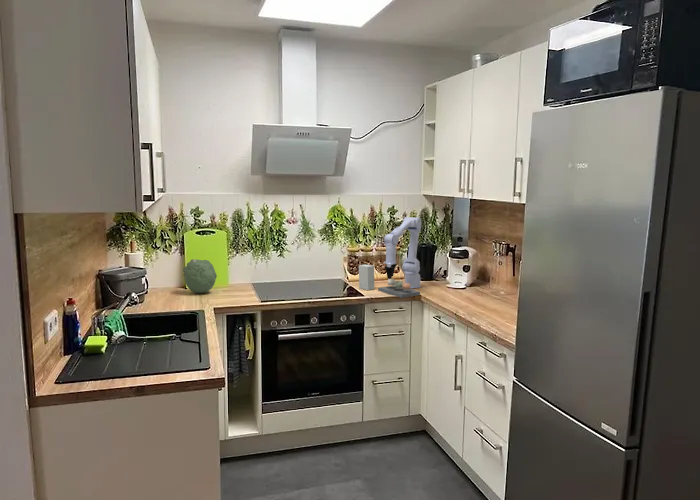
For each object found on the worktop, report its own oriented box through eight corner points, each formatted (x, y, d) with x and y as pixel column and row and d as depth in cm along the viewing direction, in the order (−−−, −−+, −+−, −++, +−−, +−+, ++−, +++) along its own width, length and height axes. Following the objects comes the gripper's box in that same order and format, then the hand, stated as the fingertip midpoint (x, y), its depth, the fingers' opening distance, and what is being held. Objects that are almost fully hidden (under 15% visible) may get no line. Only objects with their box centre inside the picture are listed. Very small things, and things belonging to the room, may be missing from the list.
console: (396, 288, 315) (396, 284, 315) (419, 295, 297) (420, 291, 297) (378, 290, 307) (378, 287, 307) (401, 297, 289) (401, 294, 289)
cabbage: (215, 295, 288) (214, 261, 285) (180, 296, 285) (179, 261, 283) (219, 290, 303) (218, 257, 300) (186, 290, 301) (185, 257, 298)
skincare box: (374, 289, 311) (375, 265, 309) (367, 290, 307) (368, 266, 305) (364, 287, 317) (365, 263, 315) (358, 288, 313) (358, 264, 311)
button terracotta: (406, 287, 299) (407, 282, 299) (411, 289, 295) (412, 283, 295) (401, 288, 296) (401, 283, 296) (406, 289, 293) (406, 284, 292)
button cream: (392, 283, 310) (392, 278, 310) (396, 284, 307) (396, 280, 306) (386, 284, 308) (386, 279, 308) (390, 285, 304) (391, 280, 304)
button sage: (399, 285, 305) (399, 280, 304) (404, 286, 301) (404, 281, 301) (393, 286, 302) (393, 281, 302) (398, 287, 299) (398, 282, 298)
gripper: (385, 252, 305) (385, 274, 307) (382, 256, 291) (381, 279, 293) (397, 253, 303) (397, 275, 305) (394, 256, 289) (393, 279, 291)
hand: (390, 277), depth 299 cm, fingers open, 7 cm apart
